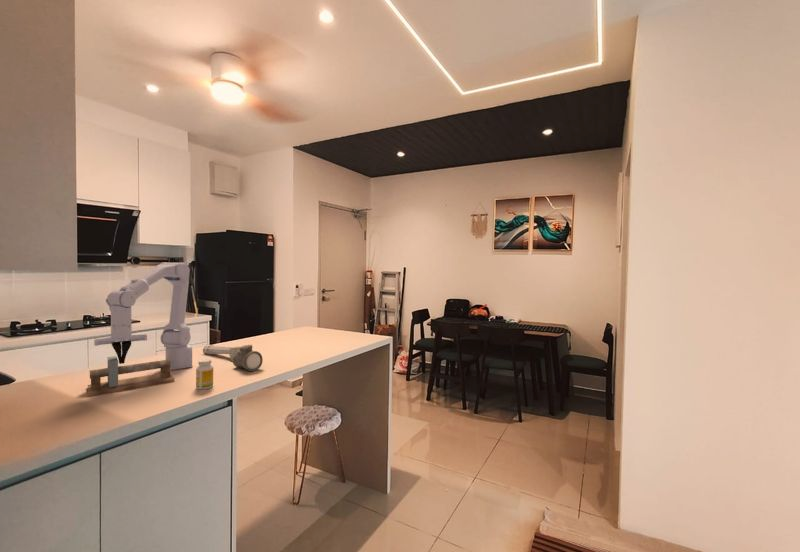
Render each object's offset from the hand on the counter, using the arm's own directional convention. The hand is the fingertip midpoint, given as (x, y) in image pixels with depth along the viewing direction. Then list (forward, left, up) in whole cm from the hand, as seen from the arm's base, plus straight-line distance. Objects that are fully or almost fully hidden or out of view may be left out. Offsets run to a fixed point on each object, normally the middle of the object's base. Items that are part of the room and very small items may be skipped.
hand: (121, 363), depth 126 cm
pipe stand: (-3, 0, -8) cm, 9 cm away
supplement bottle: (-22, +19, -8) cm, 30 cm away
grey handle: (-39, -21, -9) cm, 46 cm away
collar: (+3, 0, -7) cm, 7 cm away
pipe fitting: (-41, +5, -9) cm, 42 cm away
